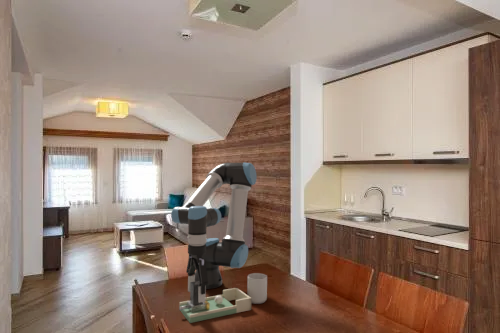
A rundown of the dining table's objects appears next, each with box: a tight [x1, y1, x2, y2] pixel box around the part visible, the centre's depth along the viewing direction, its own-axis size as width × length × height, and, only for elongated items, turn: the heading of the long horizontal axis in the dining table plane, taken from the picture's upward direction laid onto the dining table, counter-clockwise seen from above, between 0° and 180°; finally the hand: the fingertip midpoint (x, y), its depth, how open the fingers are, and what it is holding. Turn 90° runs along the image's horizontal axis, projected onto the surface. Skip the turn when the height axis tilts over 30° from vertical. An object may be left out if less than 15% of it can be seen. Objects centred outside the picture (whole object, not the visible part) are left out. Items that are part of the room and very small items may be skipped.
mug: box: [246, 272, 268, 305], centre depth 154 cm, size 12×9×11 cm
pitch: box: [178, 287, 252, 324], centre depth 142 cm, size 14×27×5 cm, turn 118°
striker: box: [178, 281, 210, 312], centre depth 137 cm, size 8×11×10 cm
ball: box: [215, 295, 223, 305], centre depth 143 cm, size 4×4×4 cm
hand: (196, 296), depth 138 cm, fingers open, 12 cm apart
